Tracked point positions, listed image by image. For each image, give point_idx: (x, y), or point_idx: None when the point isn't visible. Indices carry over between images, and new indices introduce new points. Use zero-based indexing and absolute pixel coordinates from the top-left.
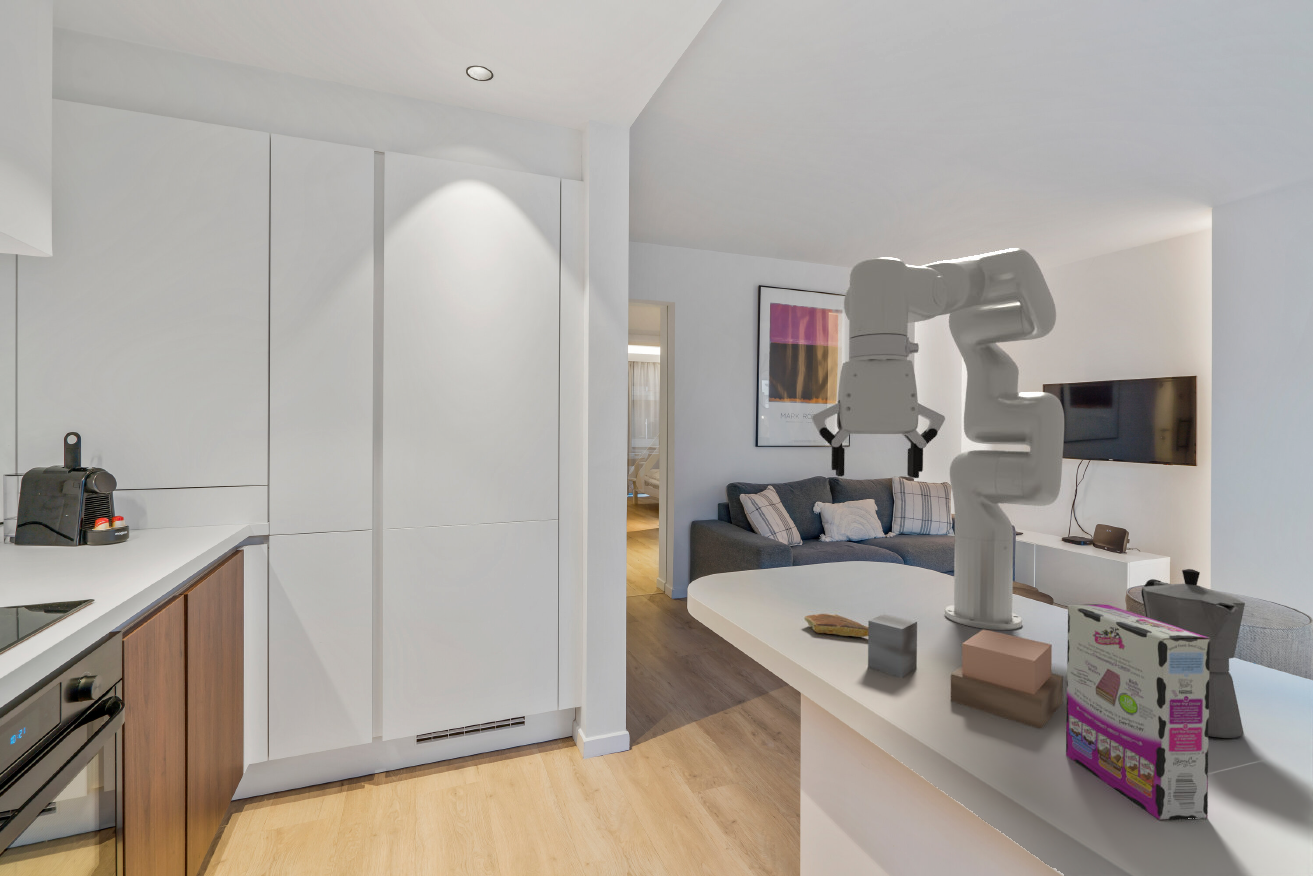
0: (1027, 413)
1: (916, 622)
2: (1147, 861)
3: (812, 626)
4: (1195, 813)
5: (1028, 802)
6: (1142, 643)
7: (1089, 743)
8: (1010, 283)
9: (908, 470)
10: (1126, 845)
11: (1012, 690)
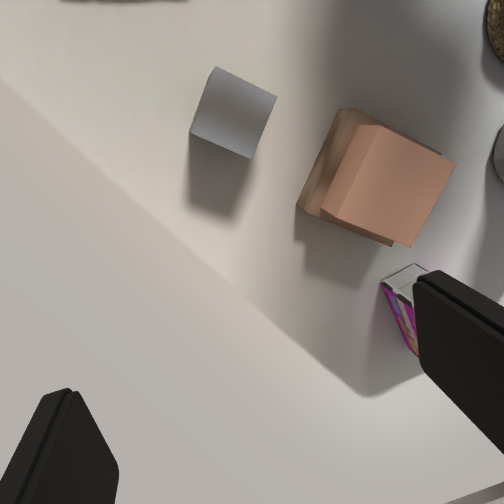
0: None
1: (275, 100)
2: (381, 391)
3: None
4: None
5: (330, 365)
6: None
7: (401, 314)
8: None
9: (430, 308)
10: (376, 382)
11: (368, 233)
